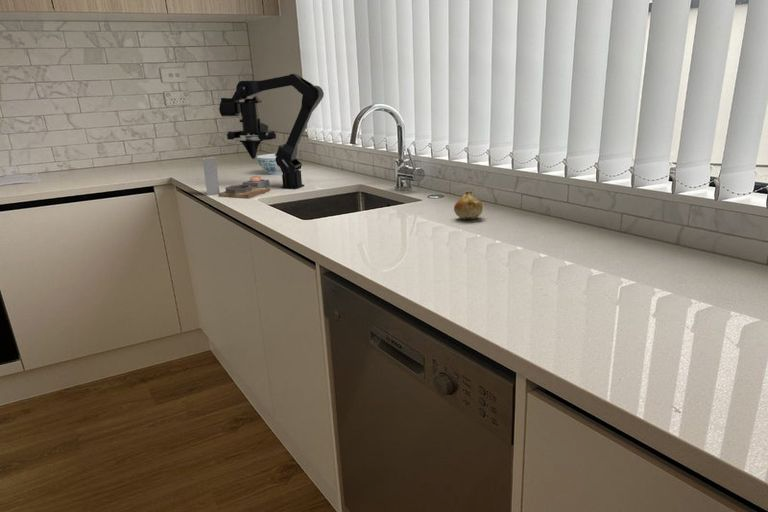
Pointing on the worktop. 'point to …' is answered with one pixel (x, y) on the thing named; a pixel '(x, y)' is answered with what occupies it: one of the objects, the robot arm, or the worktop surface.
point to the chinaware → (269, 164)
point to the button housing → (257, 183)
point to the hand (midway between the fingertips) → (253, 158)
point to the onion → (468, 206)
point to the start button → (255, 179)
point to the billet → (211, 176)
